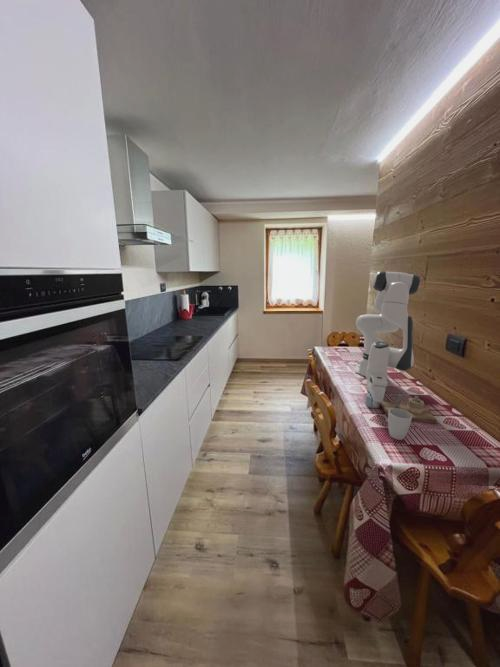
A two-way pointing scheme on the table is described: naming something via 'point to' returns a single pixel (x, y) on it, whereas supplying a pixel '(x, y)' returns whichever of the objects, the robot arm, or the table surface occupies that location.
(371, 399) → the loose gear
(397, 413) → the cup
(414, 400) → the gear board
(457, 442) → the table surface
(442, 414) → the table surface
